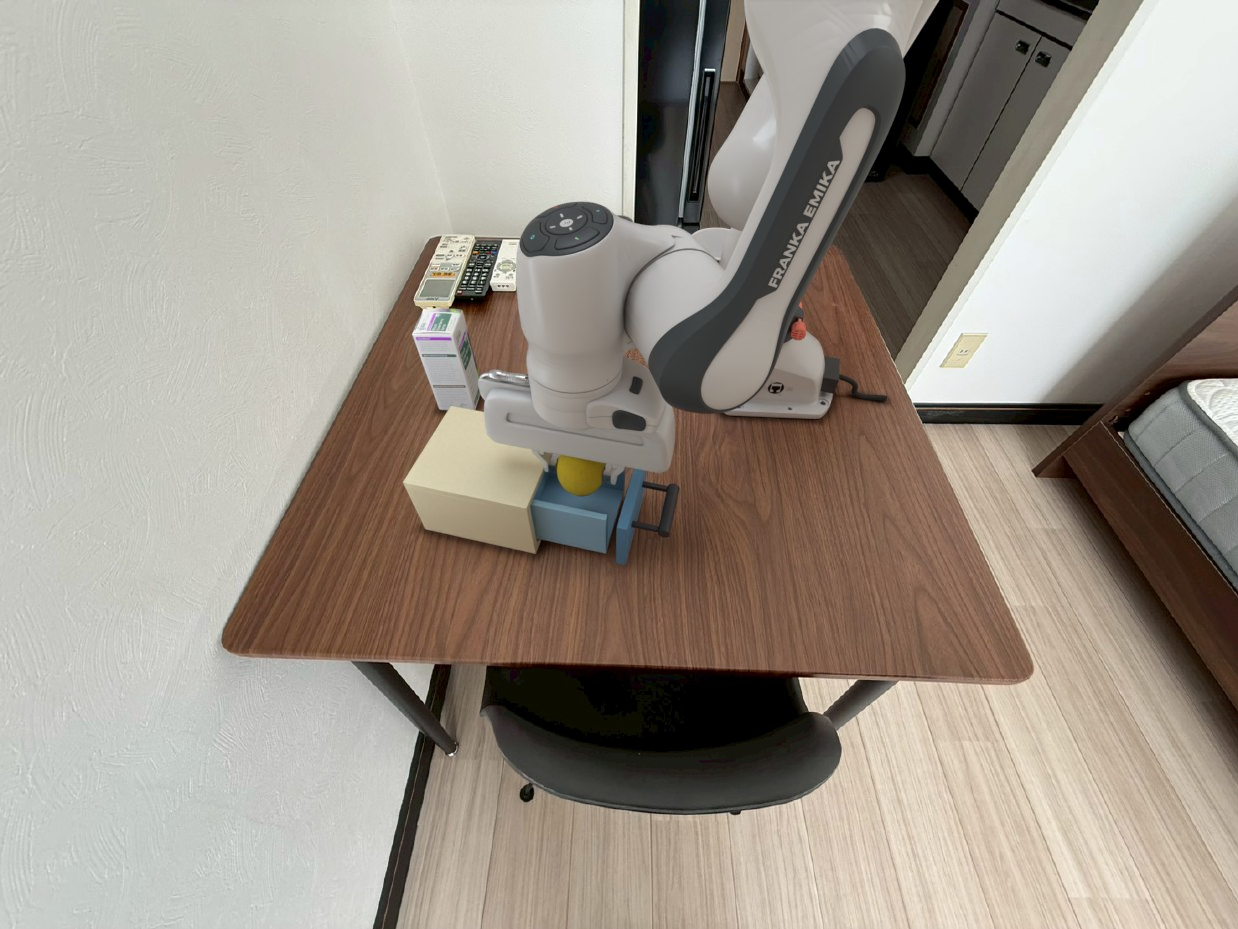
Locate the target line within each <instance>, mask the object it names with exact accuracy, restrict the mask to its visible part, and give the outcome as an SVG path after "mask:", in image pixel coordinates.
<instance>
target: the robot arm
mask: <svg viewBox="0 0 1238 929" xmlns="http://www.w3.org/2000/svg"><path fill="white" fill-rule="evenodd" d="M939 1H940V0H743V5H744V7H743V8H744V16H745V22H746V29H747V32H748V33H747V34H748V36H749V40H750V44H751V46H752V49H753V51H754V55H755V56H756V59H757V61H758V63H759V65H760V68H761V70H762V73H763V74H762V75H761V77H760V78H759V81H758V83H757V84H756V86H755V88H754V89H753V91H752V93H751V95H750V96H749V99H748V100H747V102H746V104H745V106H744V107H743V110H742V112H741V113H740V116H739V117H738V119H737V121H736V123H735V125H734V127H733V128H732V130H731V132H730V133H729V135H728V137H727V138H726V139H725V141H724V143H723V144H722V145H721V147H720V148H719V150H718V151H717V153H716V154H715V156H714V158H713V160H712V162H711V163H710V167H709V170H708V175H707V192H708V197H709V201H710V203H711V205H712V208H713V210H714V212H715V213H716V215H717V216H718V217H719V219H720V220H721V221H722V222H724V224H726V225H727V226H729V227H730V228H729V229H730V231H729V232H728V234H727V236H726V239H725V241H724V244H723V248H722V254H721V260H720V265H719V263H718V262H717V260H716V259H715V258H714V257H713V256H712V255H711V254H710V253H709V252H708V250H707V249H706V248H705V247H704V246H703V245H702V244H701V243H700V242H699V241H698V240H697V239H696V238H695V237H694V236H692V233H690V232H689V231H687V230H686V229H685V228H683V227H681V226H678V225H675V224H670V223H657V224H652V225H648V224H647V225H646V224H642V223H641V224H640V223H637V222H635V221H633V222H630V221H628V220H625V219H623V218H621V217H619V216H617V215H618V214H615V213H614V212H613V211H612V210H611V209H609V208H608V207H606V206H605V205H603V204H600V203H596V202H592V201H570V202H564V203H560V204H557V205H554V206H552V207H550V208H547V209H546V210H544V211H542V212H541V213H539V214H538V215H536V216H534V218H532V219H531V220H530V221H529V222H528V224H527V225H526V226H525V228H524V229H523V231H522V233H521V236H520V238H519V241H518V244H517V249H516V258H515V259H516V260H515V285H516V286H515V287H516V298H517V308H518V316H519V321H520V328H521V331H522V334H523V335H524V338H525V340H526V342H527V351H526V362H525V363H526V369H527V370H526V371H527V373H520V372H510V371H509V372H508V371H504V370H501V369H497V368H496V369H495V368H494V369H490V370H489V371H486V372H483V373H482V374H479V375H480V376H479V378H478V387H479V391H480V397H481V398H482V400H484V405H483V412H484V420H485V428H486V433H487V435H488V437H489V438H491V439H492V440H493V441H494V442H495V443H499V444H504V445H510V446H515V447H521V448H526V449H531V450H532V453H533V454H534V455H535V456H536V457H537V458H538V459H539V460H540V461H541V462H542V463H543V464H544V471H545V472H551V473H557V463H558V458H559V456H560V455H564V456H569V457H575V458H580V459H585V460H591V461H596V462H601V463H606V465H605V470H604V471H603V474H602V478H603V480H602V481H603V483H608V484H613V485H615V484H616V480H617V477H618V475H619V474H620V473H622V472H623V471H624V470H625V467H626V468H629V469H639V470H645V471H647V472H651V473H655V474H662V473H664V472H666V471H668V470H669V469H670V468H671V464H672V460H673V455H674V449H675V442H676V421H675V413H674V412H675V411H674V409H676V410H680V411H683V412H688V413H692V414H693V413H694V414H701V415H713V414H714V415H715V414H716V415H717V414H724V415H726V416H733V417H734V416H737V417H756V418H757V417H758V418H759V417H760V418H761V417H762V418H786V419H805V420H807V419H809V420H816V419H817V420H818V419H821V418H822V417H824V416H825V415H826V414H827V413H828V411H829V409H830V407H831V403H832V401H833V396H834V393H835V391H836V389H837V387H838V384H839V382H840V381H842V382H845V383H848V384H849V385H850V386H851V395H853V397H856V398H857V399H860V400H866V401H884V402H886V401H887V400H888V395H885V394H884V395H883V394H865V393H861V392H860V391H858V390H859V383H858V382H857V381H856V380H855V379H853V378H851V377H849V376H847V375H845V374H842V373H840V372H841V371H840V369H841V368H840V367H841V358H839V357H832V356H827V355H825V354H824V353H825V352H824V350H823V347H822V345H821V343H820V341H819V340H818V339H817V338H816V337H815V336H814V335H812V334H811V333H810V332H809V331H808V330H807V324H806V323H805V322H804V319H805V311H804V309H803V303H802V300H803V299H804V296H805V295H806V293H807V291H808V288H809V287H810V285H811V283H812V281H813V279H814V277H815V275H816V274H817V272H818V269H819V268H820V266H821V264H822V262H823V260H824V258H825V256H826V255H827V253H828V251H829V249H830V247H831V245H832V243H833V241H834V240H835V237H836V236H837V234H838V233H839V230H840V228H841V227H842V224H843V222H844V221H845V218H846V217H847V215H848V213H849V212H850V209H851V207H852V205H853V204H854V202H855V200H856V197H857V196H858V195H859V192H860V190H861V188H862V186H863V185H864V183H865V180H866V179H867V176H868V175H869V173H870V171H871V169H872V167H873V165H874V164H875V161H876V159H877V157H878V155H879V153H880V151H881V149H882V146H883V144H884V142H885V141H886V138H887V136H888V135H889V132H890V129H891V127H892V125H893V122H894V120H895V118H896V115H897V112H898V110H899V107H900V104H901V101H902V98H903V94H904V89H905V84H906V66H905V62H904V58H905V56H906V55H907V53H908V52H909V50H910V48H911V47H912V45H913V44H914V42H915V40H916V39H917V37H918V35H919V34H920V32H921V30H922V29H923V28H924V26H925V24H926V23H927V21H928V19H929V17H930V16H931V15H932V13H933V11H934V9H935V8H936V6H937V5H938V3H939ZM633 349H637V351H638V352H639V354H640V356H641V357H642V359H643V360H644V361H645V362H646V365H647V366H646V365H643V364H641V363H639V362H637V361H636V360H633V359H631V358H629V357H627V356H626V355H625V354H626V353H627V352H628V351H629V350H633Z"/></svg>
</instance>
